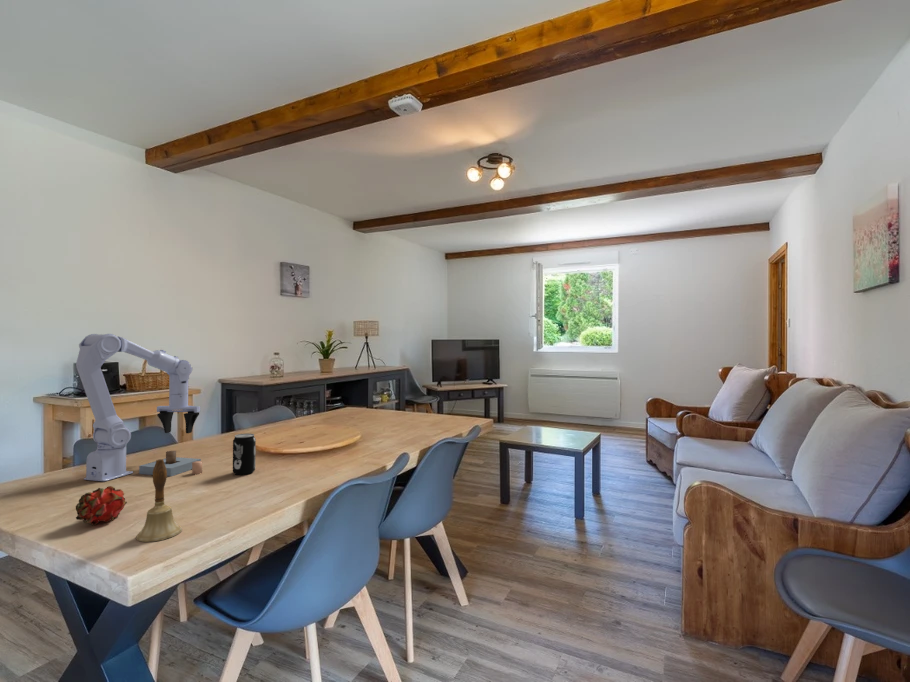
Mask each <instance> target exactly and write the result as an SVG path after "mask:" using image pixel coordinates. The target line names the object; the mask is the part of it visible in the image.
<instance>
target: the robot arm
mask: <svg viewBox="0 0 910 682" xmlns="http://www.w3.org/2000/svg"><path fill="white" fill-rule="evenodd" d="M78 347H79V352H78V355H77V359H76V362H75V365H76V366H75V367H76V371H77V373H78V375H79V379H80V381H81V383H82V387H83V390H84V393H85V396H86V397H87V401H88V403H89V406H90V409H91V411H92V414H93V417H94V422H93V424H92V427H93V434H92V437H93V441H94V442H95V443H96V444H97V447H96V449H95V451H91V452H89V453H88V455H87V456H86V460H85V461H86V463H85V464H86V466H85V467H86V468H85V469H86V470H85V476H86V477H83V480H86V481H96V482H107V481H110V480H113V479H118V478H120V477H125V476H127V475H130V474H131V475H132V474H133V473H134V471H133V470H131V471H130V470H127V444H128V443H129V442H130V441H131V438H132V433H131V432H132V431H131V430H130V429H129V428H128V427H127V426H126V425H125V422H124V420H123V419H122V418H120V417H119V416H118V415H117V411H116V408H115V406H114V402H113V401H112V400H113V399H112V397H111V395H110V392H109V388H108V386H107V385H108V384H107V383H106V380H105V376H104V373H103V370H102V369H101V368H102V366H103V364H104V363H105V362H106V361H107V360H108V359H109V358H111V357H112V356H114V355H115V354H117V353H118V352H119V353H125V354H128V355H131V356H135V357H137V358H139V359H143V360H146V363H147V364H148V365H149V366H150V367H152V368H155V369H158V370H160V371H163V372H165V373H166V374H167V375H168V376H169V386H168V387H169V391H168V405H158V406H156V413H157V414H156V416H157V417H158V419H159V420H160V423H161V424H162V427H163V430H164V433H165V434H169V433H171V432H172V421H173V415H174V413H183V417H184V420H185V421H184V422H185V433H186V434H190V433H192V432H193V429H194V425H195V423H196V420H197V418H198V416H200V412H201V406H199V405H189V380H190V375H191V374H192V372H193V370H194V369H193V367H192V365H191V363H190V362H189V361H188V360H187V359H179V356H176V355H174V356H173V355H171V354H168V353H167V351H166V350H164V349H160V350H159V349H155V350H150V349H147V348H146V347H144V346H142V345H140V344H137V343H136V342H133V341H131V340H129V339H127V338H125V337H123V336H117V335H116V334H113V333H105V334H104V333H103V334H102V333H101V334H99V333H91V334H88V335H86V336H85V337H84V338H83V339H82V340H81V341H80V342H79V344H78Z"/></svg>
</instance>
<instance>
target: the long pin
mask: <svg viewBox="0 0 910 682" xmlns="http://www.w3.org/2000/svg"><path fill="white" fill-rule="evenodd" d="M176 457H177V450H167V451H165V458H166V464H174V463H176Z"/></svg>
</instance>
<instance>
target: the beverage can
mask: <svg viewBox="0 0 910 682" xmlns="http://www.w3.org/2000/svg"><path fill="white" fill-rule="evenodd" d="M256 442H257V441H256V437H255V434H254V433H238V434H234V438H233V440H232V473H233V474H235V476H247V475H250V474H253V473H254V472H255V470H256V457H257V456H256V450H257V445H256Z"/></svg>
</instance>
